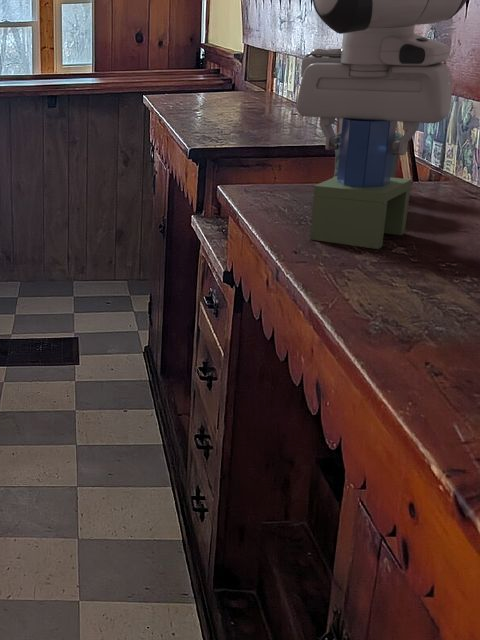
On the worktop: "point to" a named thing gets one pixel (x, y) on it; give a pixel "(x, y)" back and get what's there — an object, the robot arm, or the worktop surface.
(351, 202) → the shelf
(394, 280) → the worktop surface
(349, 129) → the cup
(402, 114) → the robot arm
